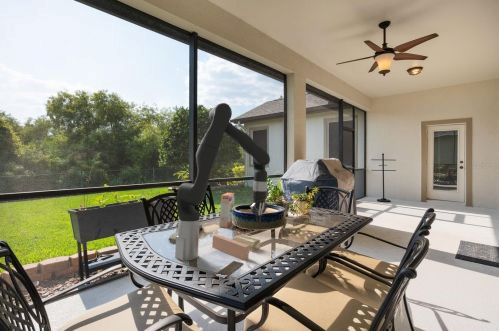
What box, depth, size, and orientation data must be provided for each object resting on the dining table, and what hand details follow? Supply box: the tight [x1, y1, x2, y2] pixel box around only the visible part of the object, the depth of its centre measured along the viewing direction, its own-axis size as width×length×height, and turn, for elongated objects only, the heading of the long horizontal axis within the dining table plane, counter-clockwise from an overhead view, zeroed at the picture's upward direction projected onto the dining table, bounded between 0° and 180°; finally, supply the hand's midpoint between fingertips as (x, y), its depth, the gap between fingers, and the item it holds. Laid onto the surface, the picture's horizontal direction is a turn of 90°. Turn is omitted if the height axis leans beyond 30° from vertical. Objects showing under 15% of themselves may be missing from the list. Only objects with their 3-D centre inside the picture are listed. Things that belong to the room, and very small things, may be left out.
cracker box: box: [218, 192, 236, 229], centre depth 183 cm, size 14×6×21 cm, turn 168°
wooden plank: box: [213, 260, 244, 276], centre depth 113 cm, size 17×1×5 cm
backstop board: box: [211, 234, 250, 261], centre depth 133 cm, size 3×22×6 cm, turn 48°
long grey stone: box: [167, 222, 203, 244], centre depth 159 cm, size 35×5×10 cm
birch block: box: [234, 234, 261, 253], centre depth 142 cm, size 6×12×5 cm, turn 47°
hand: (258, 221), depth 148 cm, fingers closed
